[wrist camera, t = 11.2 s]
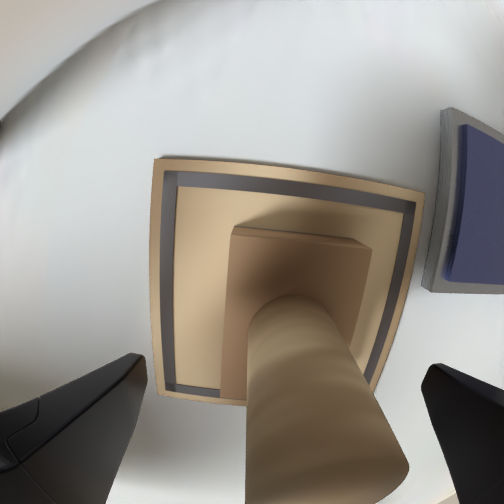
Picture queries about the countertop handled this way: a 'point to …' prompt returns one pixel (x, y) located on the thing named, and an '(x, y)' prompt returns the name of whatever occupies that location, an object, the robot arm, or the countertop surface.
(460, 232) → the ink pad
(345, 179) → the marked card
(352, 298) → the stamp
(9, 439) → the robot arm
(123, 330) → the countertop surface
